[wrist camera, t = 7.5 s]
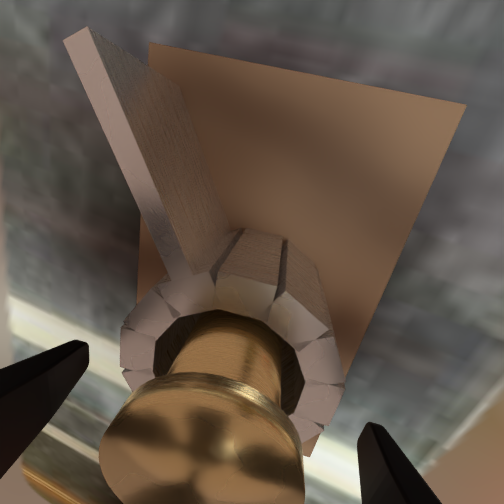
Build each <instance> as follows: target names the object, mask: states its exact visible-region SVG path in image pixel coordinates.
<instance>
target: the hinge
mask: <svg viewBox="0 0 504 504" xmlns="http://www.w3.org/2000/svg"><path fill="white" fill-rule="evenodd" d="M63 42H64V44H65V47H66V49H67V51H68V53H69V55H70V58H71V60H72V62H73V64H74V66H75V69H76V71H77V73H78V75H79V77H80V80H81V82H82V84H83V86H84V88H85V91H86V93H87V95H88V97H89V100H90V102H91V104H92V106H93V108H94V111H95V113H96V115H97V117H98V119H99V122H100V124H101V126H102V128H103V130H104V133H105V135H106V137H107V139H108V141H109V144H110V146H111V148H112V150H113V152H114V155H115V157H116V159H117V161H118V164H119V166H120V168H121V170H122V172H123V175H124V177H125V179H126V181H127V183H128V186H129V188H130V190H131V192H132V194H133V197H134V199H135V201H136V203H137V205H138V208H139V210H140V212H141V214H142V216H143V219H144V221H145V223H146V225H147V228H148V230H149V232H150V234H151V236H152V239H153V241H154V243H155V245H156V247H157V250H158V252H159V254H160V256H161V258H162V261H163V263H164V265H165V267H166V269H167V272H168V273H167V274H166V275H165V276H164V277H163V278H162V279H161V280H160V281H159V282H157V283H156V284H155V285H154V286H153V287H152V288H151V289H150V290H149V291H148V292H147V294H146V295H145V296H144V297H143V298H142V300H141V301H140V302H139V303H138V304H137V306H136V307H135V308H134V309H133V310H132V311H131V313H130V314H129V315H128V316H127V317H126V319H125V320H124V321H123V322H124V323H125V324H124V325H123V326H122V327H121V342H120V367H123V368H125V369H124V371H123V372H122V374H123V376H124V378H125V379H126V381H127V383H128V385H129V386H130V388H131V390H132V392H134V391H135V390H136V389H137V388H138V387H139V386H141V385H142V384H144V383H146V382H147V381H149V380H152V379H154V378H156V377H159V376H163V375H167V373H168V372H169V370H170V368H171V366H172V364H173V363H174V361H175V359H176V357H177V355H178V354H179V352H180V350H181V348H182V346H183V345H184V343H185V341H186V339H187V338H188V336H189V334H190V332H191V330H192V329H193V327H194V325H195V323H196V321H197V320H198V318H199V316H200V314H201V312H205V311H210V310H214V309H220V310H224V311H228V312H232V313H236V314H239V315H243V316H247V317H251V318H255V319H258V320H262V321H263V322H264V323H265V324H266V325H268V326H269V327H270V328H271V329H272V330H273V331H275V332H276V333H277V334H278V335H279V336H280V337H282V360H281V400H280V408H281V409H282V410H283V411H284V412H285V413H286V414H287V415H288V417H289V418H290V420H291V421H292V423H293V424H294V426H295V428H296V430H297V432H298V434H299V436H300V440H301V443H303V442H305V441H307V440H309V439H310V438H312V437H314V436H316V435H317V434H319V433H321V432H323V431H324V426H323V424H324V425H327V426H329V424H330V422H331V419H332V417H333V415H334V413H335V411H336V409H337V406H338V404H339V402H340V400H341V398H342V395H343V393H344V391H345V385H344V382H346V380H345V376H344V372H343V368H342V364H341V360H340V355H339V351H338V347H337V343H336V339H335V335H334V331H333V327H332V323H331V318H330V314H329V310H328V306H327V302H326V298H325V294H324V291H323V287H322V283H321V279H320V276H319V272H318V268H315V263H314V262H312V261H311V260H310V259H309V258H308V257H307V256H306V255H305V254H304V253H303V252H302V251H301V250H299V249H298V248H297V247H296V246H295V245H294V244H293V243H292V242H291V241H290V240H289V239H288V240H287V241H286V242H285V243H284V244H282V239H283V236H280V235H276V234H272V233H267V232H263V231H259V230H255V229H251V228H246V230H245V231H244V233H243V232H242V229H241V228H238V229H235V230H231V229H230V226H229V224H228V221H227V218H226V215H225V212H224V210H223V207H222V204H221V201H220V198H219V196H218V193H217V190H216V187H215V184H214V182H213V179H212V176H211V173H210V171H209V168H208V165H207V162H206V159H205V157H204V154H203V151H202V148H201V145H200V143H199V140H198V137H197V134H196V131H195V129H194V126H193V123H192V120H191V117H190V115H189V112H188V109H187V106H186V104H185V101H184V98H183V95H182V92H181V90H180V87H179V86H178V85H177V84H175V83H174V82H172V81H171V80H169V79H168V78H166V77H164V76H163V75H161V74H160V73H158V72H157V71H155V70H154V69H152V68H151V67H149V66H147V65H146V64H144V63H143V62H141V61H140V60H138V59H137V58H135V57H134V56H132V55H131V54H129V53H127V52H126V51H124V50H123V49H121V48H120V47H118V46H117V45H115V44H114V43H112V42H110V41H109V40H107V39H106V38H104V37H103V36H101V35H100V34H98V33H97V32H95V31H93V30H92V29H90V28H89V27H85V28H84V29H82V30H80V31H78V32H77V33H75V34H73V35H71V36H70V37H68V38H66V39H64V40H63Z"/></svg>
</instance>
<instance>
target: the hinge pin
mask: <svg viewBox="0 0 504 504" xmlns="http://www.w3.org/2000/svg"><path fill="white" fill-rule="evenodd" d="M281 360H282V337H280V336H279V335H278V334H277V333H276V332H275V331H273V330H272V329H271V328H270V327H269V326H268V325H266V324H265V323H264V322H263V321H262V320H258V319H255V318H251V317H247V316H243V315H239V314H236V313H232V312H228V311H224V310H220V309H214V310H210V311H205V312H201V314H200V316H199V318H198V320H197V321H196V323H195V325H194V327H193V329H192V330H191V332H190V334H189V336H188V338H187V339H186V341H185V343H184V345H183V346H182V348H181V350H180V352H179V354H178V355H177V357H176V359H175V361H174V363H173V364H172V366H171V368H170V370H169V372H168V373H167V375H163V376H159V377H156V378H154V379H152V380H149V381H147V382H146V383H144V384H142V385H141V386H139V387H138V388H137V389H136V390H135V391H134V392H132V394H131V395H130V396H129V397H128V399H127V400H126V402H125V403H124V405H123V406H122V408H121V409H120V411H119V412H118V414H117V415H116V417H115V418H114V420H113V421H112V423H111V424H110V426H109V427H108V429H107V430H106V432H105V433H104V435H103V437H102V439H101V443H100V447H99V462H100V467H101V470H102V473H103V476H104V478H105V480H106V482H107V483H108V485H109V487H110V488H111V490H112V491H113V492H114V493H115V495H116V496H117V497H118V498H119V499H120V500H121V501H122V502H123V503H124V504H304V501H305V483H304V465H303V450H302V443H301V440H300V436H299V434H298V432H297V430H296V428H295V426H294V424H293V423H292V421H291V420H290V418H289V417H288V415H287V414H286V413H285V412H284V411H283V410H282V409H281V408H280V400H281Z"/></svg>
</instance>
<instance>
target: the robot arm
mask: <svg viewBox="0 0 504 504" xmlns="http://www.w3.org/2000/svg"><path fill="white" fill-rule="evenodd" d="M88 365H89V345H88V343H86V342H83V341H80V340H72V341H70V342H67V343H65V344H62V345H60V346H57V347H55V348H52V349H50V350H47V351H45V352H42V353H40V354H37V355H35V356H32V357H30V358H27V359H25V360H22V361H20V362H17V363H15V364H12V365H10V366H7V367H5V368H2V369H0V479H1V478H2V477H3V475H4V474H5V473H6V472H7V470H8V469H9V468H10V467H11V466H12V465H13V463H14V462H15V461H16V460H17V459H18V458H19V456H20V455H21V454H22V453H23V452H24V450H25V449H26V448H27V447H28V446H29V445H30V443H31V442H32V441H33V440H34V439H35V437H36V436H37V435H38V434H39V433H40V431H41V430H42V429H43V428H44V427H45V426H46V424H47V423H48V422H49V421H50V419H51V418H52V417H53V416H54V414H55V413H56V412H57V410H58V409H59V407H60V406H61V405H62V403H63V402H64V400H65V399H66V398H67V396H68V395H69V393H70V392H71V390H72V389H73V388H74V386H75V385H76V383H77V382H78V381H79V379H80V378H81V376H82V375H83V374H84V372H85V371H86V369H87V367H88ZM357 452H358V463H359V475H360V486H361V498H362V504H442V503H441V502H440V500H439V499H438V498H437V496H436V495H435V494H434V492H433V491H432V490H431V488H430V487H429V486H428V484H427V483H426V482H425V481H424V479H423V478H422V477H421V475H420V474H419V473H418V471H417V470H416V469H415V467H414V466H413V465H412V463H411V462H410V461H409V459H408V458H407V457H406V455H405V454H404V453H403V452H402V450H401V449H400V448H399V446H398V445H397V444H396V442H395V441H394V440H393V438H392V437H391V436H390V434H389V433H388V432H387V430H386V429H385V428H384V427H383V426H382V425H379V424H376V423H372V422H368V423H367V424H366V425H365V427H364V429H363V431H362V433H361V434H360V436H359V438H358V442H357Z"/></svg>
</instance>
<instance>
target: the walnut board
mask: <svg viewBox="0 0 504 504" xmlns="http://www.w3.org/2000/svg"><path fill="white" fill-rule="evenodd" d="M148 66H149V67H151V68H152V69H154V70H155V71H157V72H158V73H160V74H161V75H163V76H164V77H166V78H168V79H169V80H171V81H172V82H174V83H175V84H177V85H178V86H179V87H180V90H181V92H182V95H183V98H184V101H185V104H186V106H187V109H188V112H189V115H190V117H191V120H192V123H193V126H194V129H195V131H196V134H197V137H198V140H199V143H200V145H201V148H202V151H203V154H204V157H205V159H206V162H207V165H208V168H209V171H210V173H211V176H212V179H213V182H214V184H215V187H216V190H217V193H218V196H219V198H220V201H221V204H222V207H223V210H224V212H225V215H226V218H227V221H228V224H229V226H230V229H231V230H235V229H238V228H241V229H242V232H243V233H244V231H245V230H246V228H251V229H255V230H259V231H263V232H267V233H272V234H276V235H280V236H283V239H282V244H284V243H285V242H286V241H287V240H288V239H289V240H290V241H291V242H292V243H293V244H294V245H295V246H296V247H297V248H298V249H299V250H301V251H302V252H303V253H304V254H305V255H306V256H307V257H308V258H309V259H310V260H311V261H312V262H314V263H315V268H318V272H319V276H320V279H321V283H322V287H323V291H324V294H325V298H326V302H327V306H328V310H329V314H330V318H331V323H332V327H333V331H334V335H335V339H336V343H337V347H338V351H339V355H340V360H341V364H342V368H343V372H344V376H345V377H346V375H347V373H348V370H349V368H350V366H351V364H352V361H353V359H354V357H355V355H356V352H357V350H358V348H359V346H360V343H361V341H362V339H363V337H364V335H365V332H366V330H367V328H368V326H369V323H370V321H371V319H372V317H373V314H374V312H375V310H376V308H377V305H378V303H379V301H380V299H381V296H382V294H383V292H384V290H385V287H386V285H387V283H388V281H389V279H390V276H391V274H392V272H393V270H394V267H395V265H396V263H397V261H398V258H399V256H400V254H401V252H402V249H403V247H404V245H405V243H406V240H407V238H408V236H409V234H410V231H411V229H412V227H413V225H414V223H415V220H416V218H417V216H418V214H419V211H420V209H421V207H422V205H423V202H424V200H425V198H426V196H427V193H428V191H429V189H430V187H431V184H432V182H433V180H434V178H435V175H436V173H437V171H438V169H439V166H440V164H441V162H442V160H443V158H444V155H445V153H446V151H447V149H448V146H449V144H450V142H451V140H452V137H453V135H454V133H455V131H456V128H457V126H458V124H459V122H460V119H461V117H462V115H463V113H464V110H465V108H466V106H467V105H465V104H460V103H454V102H449V101H444V100H439V99H434V98H429V97H424V96H419V95H414V94H409V93H404V92H399V91H394V90H389V89H384V88H379V87H373V86H368V85H363V84H358V83H353V82H348V81H343V80H338V79H333V78H328V77H323V76H318V75H313V74H308V73H303V72H298V71H292V70H287V69H282V68H277V67H272V66H267V65H262V64H257V63H252V62H247V61H242V60H237V59H232V58H227V57H222V56H217V55H211V54H206V53H201V52H196V51H191V50H186V49H181V48H176V47H171V46H166V45H161V44H156V43H151V42H149V55H148ZM167 273H168V272H167V269H166V267H165V265H164V263H163V261H162V258H161V256H160V254H159V252H158V250H157V247H156V245H155V243H154V241H153V239H152V236H151V234H150V232H149V230H148V228H147V225H146V223H145V221H144V219H143V216H142V214H141V221H140V242H139V262H138V283H137V304H138V303H139V302H140V301H141V300H142V298H143V297H144V296H145V295H146V294H147V292H148V291H149V290H150V289H151V288H152V287H153V286H154V285H155V284H156V283H157V282H159V281H160V280H161V279H162V278H163V277H164V276H165V275H166V274H167ZM137 304H136V306H137ZM323 426H324V424H323ZM319 435H320V433H319V434H317V435H316V436H314V437H312V438H310V439H309V440H307V441H305V442H303V443H302V450H303V455H304V456H307V457H310V456H311V453H312V451H313V449H314V447H315V444H316V442H317V440H318V438H319Z"/></svg>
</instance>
